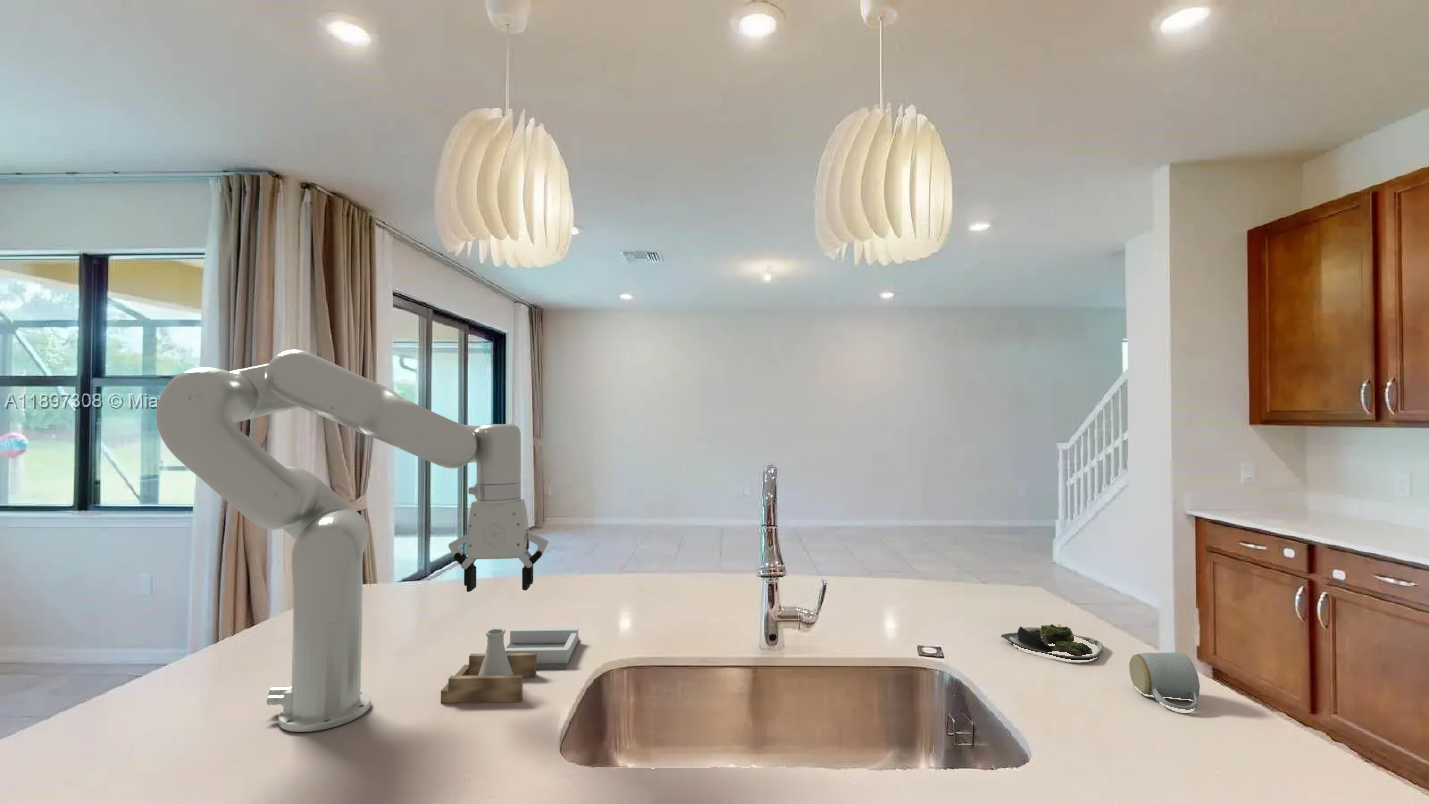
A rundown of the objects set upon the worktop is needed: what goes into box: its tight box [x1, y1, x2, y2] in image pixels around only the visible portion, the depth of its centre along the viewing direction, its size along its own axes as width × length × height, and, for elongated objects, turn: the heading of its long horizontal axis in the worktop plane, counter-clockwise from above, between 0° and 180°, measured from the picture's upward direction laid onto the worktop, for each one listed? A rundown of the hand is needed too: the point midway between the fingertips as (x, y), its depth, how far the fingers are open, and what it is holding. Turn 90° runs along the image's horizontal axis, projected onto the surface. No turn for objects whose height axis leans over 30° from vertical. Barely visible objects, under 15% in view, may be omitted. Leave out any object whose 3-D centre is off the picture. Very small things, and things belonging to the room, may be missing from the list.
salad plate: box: [1000, 623, 1104, 660], centre depth 134 cm, size 19×18×5 cm
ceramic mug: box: [1128, 651, 1201, 710], centre depth 107 cm, size 11×8×8 cm
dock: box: [505, 627, 580, 671], centre depth 127 cm, size 14×16×3 cm
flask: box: [478, 628, 514, 675], centre depth 111 cm, size 7×7×10 cm
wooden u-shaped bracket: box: [440, 653, 537, 704], centre depth 110 cm, size 13×11×4 cm
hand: (498, 589), depth 111 cm, fingers open, 9 cm apart
